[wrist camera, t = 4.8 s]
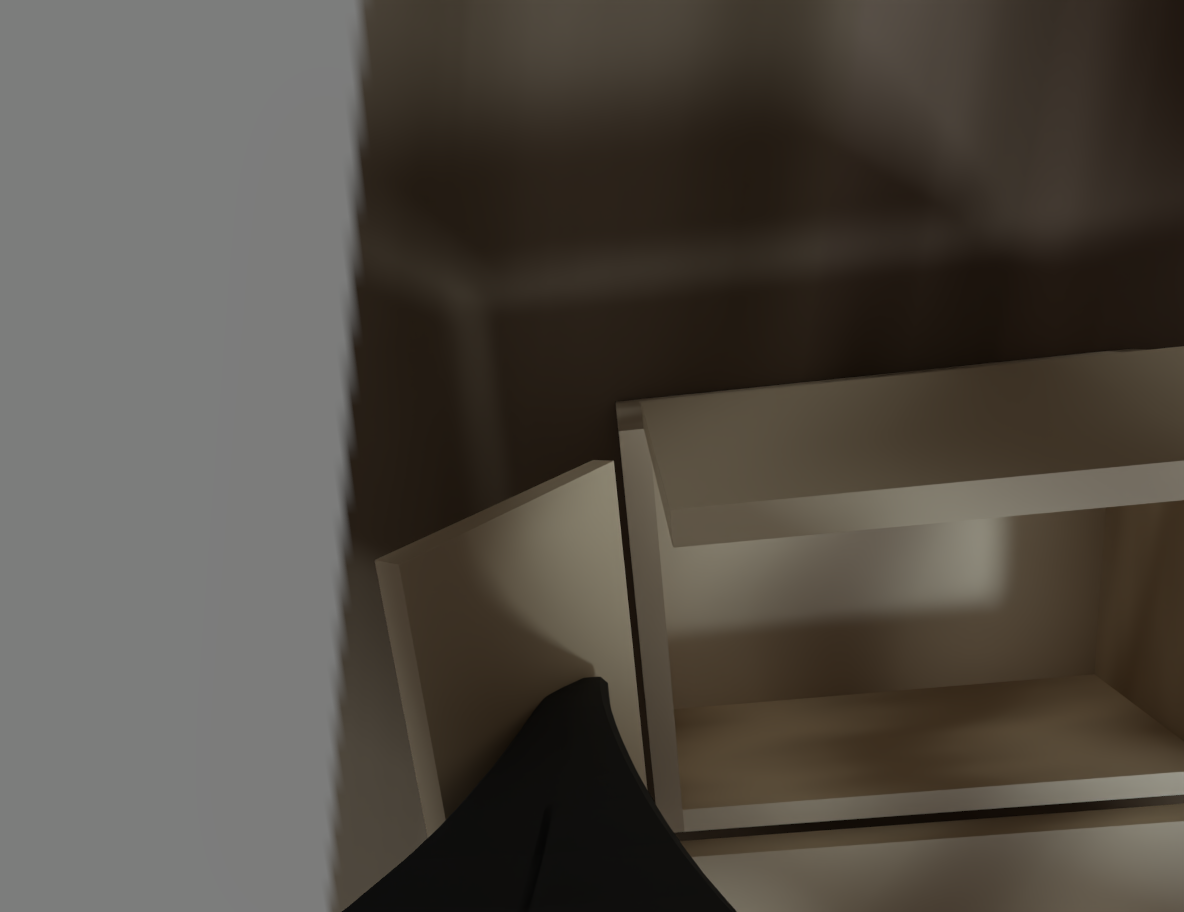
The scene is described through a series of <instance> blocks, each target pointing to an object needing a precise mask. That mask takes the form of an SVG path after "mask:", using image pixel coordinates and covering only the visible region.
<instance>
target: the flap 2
mask: <svg viewBox="0 0 1184 912" xmlns="http://www.w3.org/2000/svg"><path fill="white" fill-rule="evenodd" d="M641 408H642V419H643V428H644V432H645V436H646V440H647V444H648V448H649V452H650V456H651V460H652V464H653V468H654V472H655V476H656V480H657V485H658V489H659V493H660V497H661V501H662V505H663V509H664V513H665V517H666V521H667V525H668V529H669V533H670V537H671V541H672V545H673V548H676V547H687V546H697V545H708V544H719V543H730V542H740V541H751V540H762V539H772V538H783V537H794V536H804V535H815V534H826V533H837V532H847V531H858V530H869V529H879V528H890V527H901V526H912V525H922V524H933V523H944V522H954V521H965V520H976V519H987V518H997V517H1008V516H1019V515H1029V514H1040V513H1051V512H1061V511H1072V510H1083V509H1094V508H1104V507H1115V506H1126V505H1136V504H1147V503H1158V502H1169V501H1179V500H1184V346H1180V347H1171V348H1161V349H1151V350H1142V351H1132V352H1122V353H1112V354H1103V355H1093V356H1083V357H1074V358H1064V359H1054V360H1045V361H1035V362H1025V363H1015V364H1006V365H996V366H986V367H977V368H967V369H957V370H947V371H938V372H928V373H918V374H909V375H899V376H889V377H880V378H870V379H860V380H850V381H841V382H831V383H821V384H812V385H802V386H792V387H783V388H773V389H763V390H753V391H744V392H734V393H724V394H715V395H705V396H695V397H685V398H676V399H666V400H656V401H647V402H641Z"/></svg>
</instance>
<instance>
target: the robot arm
mask: <svg viewBox="0 0 1184 912" xmlns="http://www.w3.org/2000/svg"><path fill="white" fill-rule="evenodd" d="M342 912H737V911H736V910H735V909H734V908H733V907H732V906H731V904H730V903H729V902H728V901H727V900H726V899H725V897H724V896H723V895H722V894H721V893H720V892H719V891H718V889H717V888H716V887H715V886H714V885H713V884H712V882H711V881H710V880H709V879H708V878H707V877H706V875H705V874H704V873H703V872H702V870H701V869H700V868H699V866H698V865H697V864H696V862H695V861H694V860H693V858H692V857H691V856H690V854H689V853H688V852H687V850H686V849H685V848H684V846H683V845H682V844H681V842H680V841H679V839H678V838H677V836H676V835H675V833H674V832H673V831H672V829H671V828H670V826H669V825H668V823H667V822H666V820H665V819H664V817H663V815H662V814H661V812H660V811H659V809H658V807H657V806H656V804H655V802H654V801H653V799H652V797H651V796H650V794H649V792H648V790H647V789H646V787H645V785H644V783H643V781H642V780H641V778H640V776H639V774H638V772H637V770H636V768H635V766H634V764H633V762H632V760H631V758H630V756H629V753H628V751H627V749H626V747H625V745H624V742H623V740H622V738H621V736H620V733H619V730H618V728H617V725H616V722H615V719H614V716H613V713H612V710H611V706H610V696H609V687H608V682H606V681H605V680H604V679H603V678H602V677H586V678H582V679H580V680H578V681H576V682H573V683H571V684H569V685H567V686H564V687H562V688H560V689H559V690H557V691H555V692H553V693H551V694H550V695H548V696H546V697H545V698H544V699H543V700H542V701H541V703H540V704H539V705H538V706H537V708H536V709H535V710H534V711H533V713H532V714H531V716H530V717H529V718H528V720H527V721H526V723H525V724H524V726H523V727H522V728H521V730H520V731H519V733H518V734H517V735H516V736H515V738H514V739H513V740H512V742H511V743H510V744H509V746H508V747H507V748H506V750H505V751H504V752H503V754H502V755H501V756H500V758H499V759H498V760H497V762H496V763H495V764H494V765H493V767H492V768H491V769H490V770H489V771H488V773H487V774H486V775H485V776H484V777H483V779H482V780H481V781H480V782H479V783H478V784H477V786H476V787H475V788H474V789H473V790H472V791H471V793H470V794H469V795H468V796H467V797H466V798H465V800H464V801H463V802H462V803H461V804H460V805H459V806H458V808H457V809H456V810H455V811H454V812H453V813H452V814H451V815H450V816H449V817H448V818H447V819H446V820H445V821H444V823H443V824H442V825H441V826H440V827H439V828H438V829H437V830H436V831H435V832H434V833H433V834H432V835H431V836H429V837H428V838H427V839H426V840H425V841H424V842H423V843H422V844H421V845H420V846H419V847H418V848H417V849H416V850H415V851H414V852H413V853H412V854H410V855H409V856H408V857H407V858H406V859H405V860H404V861H403V862H401V863H400V864H399V865H398V866H397V867H395V868H394V869H393V870H392V871H391V872H389V873H388V874H387V875H386V876H385V877H383V878H382V879H381V880H380V881H379V882H377V883H376V884H375V885H374V886H373V887H371V888H370V889H369V890H368V891H367V892H366V893H364V894H363V895H362V896H361V897H360V898H358V899H357V900H356V901H355V902H354V903H352V904H351V905H350V906H349V907H347V908H346V909H345V910H344V911H342Z"/></svg>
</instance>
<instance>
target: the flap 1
mask: <svg viewBox="0 0 1184 912" xmlns="http://www.w3.org/2000/svg"><path fill="white" fill-rule="evenodd" d="M375 565H376V571H377V576H378V581H379V586H380V592H381V597H382V602H383V607H384V612H385V618H386V623H387V628H388V633H389V638H390V644H391V649H392V654H393V659H394V664H395V670H396V675H397V680H398V685H399V691H400V696H401V701H402V706H403V711H404V717H405V722H406V727H407V732H408V737H409V743H410V748H411V753H412V758H413V763H414V769H415V774H416V779H417V784H418V790H419V795H420V800H421V805H422V810H423V816H424V821H425V826H426V831H427V836H428V837H429V836H431V835H432V834H433V833H434V832H435V831H436V830H437V829H438V828H439V827H440V826H441V825H442V824H443V823H444V821H445V820H446V819H447V818H448V817H449V816H450V815H451V814H452V813H453V812H454V811H455V810H456V809H457V808H458V806H459V805H460V804H461V803H462V802H463V801H464V800H465V798H466V797H467V796H468V795H469V794H470V793H471V791H472V790H473V789H474V788H475V787H476V786H477V784H478V783H479V782H480V781H481V780H482V779H483V777H484V776H485V775H486V774H487V773H488V771H489V770H490V769H491V768H492V767H493V765H494V764H495V763H496V762H497V760H498V759H499V758H500V756H501V755H502V754H503V752H504V751H505V750H506V748H507V747H508V746H509V744H510V743H511V742H512V740H513V739H514V738H515V736H516V735H517V734H518V733H519V731H520V730H521V728H522V727H523V726H524V724H525V723H526V721H527V720H528V718H529V717H530V716H531V714H532V713H533V711H534V710H535V709H536V708H537V706H538V705H539V704H540V703H541V701H542V700H543V699H544V698H545V697H546V696H548V695H550V694H551V693H553V692H555V691H557V690H559V689H560V688H562V687H564V686H567V685H569V684H571V683H573V682H576V681H578V680H580V679H582V678H586V677H602V678H603V679H604V680H605V681H606V682H608V687H609V696H610V706H611V710H612V713H613V716H614V719H615V722H616V725H617V728H618V730H619V733H620V736H621V738H622V740H623V742H624V745H625V747H626V749H627V751H628V753H629V756H630V758H631V760H632V762H633V764H634V766H635V768H636V770H637V772H638V774H639V776H640V778H641V780H642V781H643V783H644V785H645V787H646V789H647V781H646V771H645V761H644V752H643V742H642V732H641V722H640V712H639V703H638V693H637V683H636V673H635V663H634V654H633V644H632V634H631V624H630V614H629V605H628V595H627V585H626V575H625V565H624V556H623V546H622V536H621V526H620V517H619V507H618V497H617V487H616V477H615V468H614V461H608V460H592V461H590V462H587V463H585V464H583V465H581V466H579V467H577V468H574V469H572V470H570V471H568V472H566V473H563V474H561V475H559V476H557V477H555V478H553V479H550V480H548V481H546V482H544V483H542V484H539V485H537V486H535V487H533V488H531V489H529V490H526V491H524V492H522V493H520V494H518V495H515V496H513V497H511V498H509V499H507V500H505V501H502V502H500V503H498V504H496V505H494V506H491V507H489V508H487V509H485V510H483V511H481V512H478V513H476V514H474V515H472V516H470V517H467V518H465V519H463V520H461V521H459V522H457V523H454V524H452V525H450V526H448V527H446V528H443V529H441V530H439V531H437V532H435V533H433V534H430V535H428V536H426V537H424V538H422V539H419V540H417V541H415V542H413V543H411V544H409V545H406V546H404V547H402V548H400V549H398V550H395V551H393V552H391V553H389V554H387V555H385V556H382V557H380V558H378V559H376V560H375Z"/></svg>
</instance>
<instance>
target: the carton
mask: <svg viewBox="0 0 1184 912" xmlns="http://www.w3.org/2000/svg"><path fill="white" fill-rule="evenodd" d="M1142 350H1143V349H1121V350H1111V351H1102V352H1092V353H1082V354H1073V355H1063V356H1053V357H1044V358H1034V359H1024V360H1015V361H1005V362H995V363H986V364H976V365H966V366H956V367H947V368H937V369H927V370H918V371H908V372H898V373H889V374H879V375H869V376H860V377H850V378H840V379H831V380H821V381H811V382H801V383H792V384H782V385H772V386H763V387H753V388H743V389H734V390H724V391H714V392H705V393H695V394H685V395H676V396H666V397H656V398H646V399H637V400H627V401H617V402H616V412H617V422H618V432H619V442H620V452H621V462H622V472H623V482H624V492H625V502H626V512H627V522H628V532H629V542H630V552H631V562H632V572H633V582H634V593H635V603H636V613H637V623H638V633H639V643H640V653H641V663H642V673H643V683H644V693H645V703H646V713H647V723H648V733H649V743H650V753H651V762H652V772H653V782H654V792H655V801H656V806H657V807H658V809H659V811H660V812H661V814H662V815H663V817H664V819H665V820H666V822H667V823H668V825H669V826H670V828H671V829H672V831H673V832H674V833H675V832H689V831H702V830H715V829H729V828H742V827H755V826H769V825H782V824H796V823H809V822H822V821H836V820H849V819H862V818H876V817H889V816H902V815H916V814H929V813H942V812H956V811H969V810H982V809H996V808H1009V807H1023V806H1036V805H1049V804H1063V803H1076V802H1089V801H1103V800H1116V799H1129V798H1143V797H1156V796H1169V795H1183V794H1184V500H1179V501H1169V502H1158V503H1147V504H1136V505H1126V506H1115V507H1104V508H1094V509H1083V510H1072V511H1061V512H1051V513H1040V514H1029V515H1019V516H1008V517H997V518H987V519H976V520H965V521H954V522H944V523H933V524H922V525H912V526H901V527H890V528H879V529H869V530H858V531H847V532H837V533H826V534H815V535H804V536H794V537H783V538H772V539H762V540H751V541H740V542H730V543H719V544H708V545H697V546H687V547H676V548H673V545H672V541H671V537H670V533H669V529H668V525H667V521H666V517H665V513H664V509H663V505H662V501H661V497H660V493H659V489H658V485H657V480H656V476H655V472H654V468H653V464H652V460H651V456H650V452H649V448H648V444H647V440H646V436H645V432H644V428H643V419H642V408H641V402H647V401H656V400H666V399H676V398H685V397H695V396H705V395H715V394H724V393H734V392H744V391H753V390H763V389H773V388H783V387H792V386H802V385H812V384H821V383H831V382H841V381H850V380H860V379H870V378H880V377H889V376H899V375H909V374H918V373H928V372H938V371H947V370H957V369H967V368H977V367H986V366H996V365H1006V364H1015V363H1025V362H1035V361H1045V360H1054V359H1064V358H1074V357H1083V356H1093V355H1103V354H1112V353H1122V352H1132V351H1142ZM680 842H681V844H682V845H683V846H684V848H685V849H686V850H687V852H688V853H689V854H690V856H691V857H692V858H693V860H694V861H695V862H696V864H697V865H698V866H699V868H700V869H701V870H702V872H703V873H704V874H705V875H706V877H707V878H708V879H709V880H710V881H711V882H712V884H713V885H714V886H715V887H716V888H717V889H718V891H719V892H720V893H721V894H722V895H723V896H724V897H725V899H726V900H727V901H728V902H729V903H730V904H731V906H732V907H733V908H734V909H735V910H736V911H737V912H1184V804H1172V805H1159V806H1145V807H1132V808H1118V809H1105V810H1091V811H1078V812H1064V813H1051V814H1038V815H1024V816H1011V817H997V818H984V819H970V820H957V821H943V822H930V823H916V824H903V825H890V826H876V827H863V828H849V829H836V830H822V831H809V832H795V833H782V834H768V835H755V836H741V837H728V838H715V839H701V840H688V841H680Z"/></svg>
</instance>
